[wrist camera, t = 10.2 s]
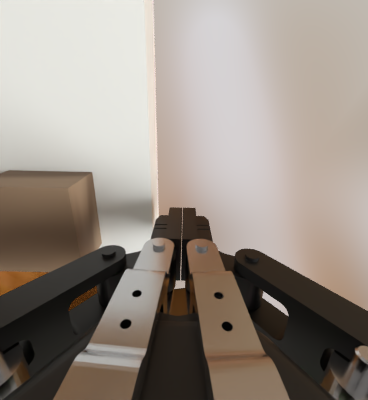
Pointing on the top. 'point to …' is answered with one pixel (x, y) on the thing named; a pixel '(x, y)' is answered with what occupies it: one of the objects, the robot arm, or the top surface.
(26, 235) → the tile
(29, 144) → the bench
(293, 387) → the robot arm
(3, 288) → the top surface
